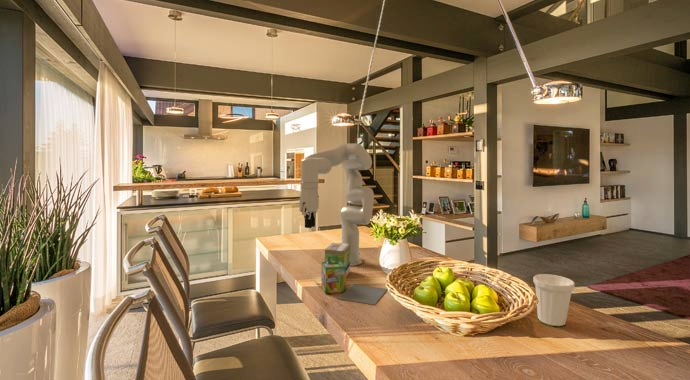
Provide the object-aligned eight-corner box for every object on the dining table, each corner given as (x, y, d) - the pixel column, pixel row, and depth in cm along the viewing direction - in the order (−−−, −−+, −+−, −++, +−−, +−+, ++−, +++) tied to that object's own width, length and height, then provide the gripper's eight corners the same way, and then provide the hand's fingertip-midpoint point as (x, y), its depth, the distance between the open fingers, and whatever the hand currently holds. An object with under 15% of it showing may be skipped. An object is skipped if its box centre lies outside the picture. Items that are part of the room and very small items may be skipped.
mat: (353, 284, 161) (353, 283, 161) (387, 289, 155) (387, 288, 155) (337, 299, 145) (337, 298, 145) (374, 305, 139) (374, 304, 138)
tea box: (344, 281, 166) (344, 250, 164) (323, 279, 168) (323, 249, 166) (350, 271, 180) (350, 243, 179) (331, 270, 182) (331, 242, 181)
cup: (578, 331, 118) (581, 287, 116) (538, 328, 120) (540, 284, 118) (562, 315, 130) (565, 274, 128) (526, 312, 132) (528, 273, 131)
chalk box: (325, 294, 150) (325, 260, 148) (320, 287, 158) (320, 254, 157) (346, 292, 152) (346, 258, 151) (340, 284, 161) (340, 253, 160)
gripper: (310, 184, 164) (311, 223, 166) (292, 187, 150) (293, 229, 151) (325, 185, 162) (325, 224, 163) (308, 187, 147) (308, 231, 148)
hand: (310, 226), depth 157 cm, fingers open, 2 cm apart
